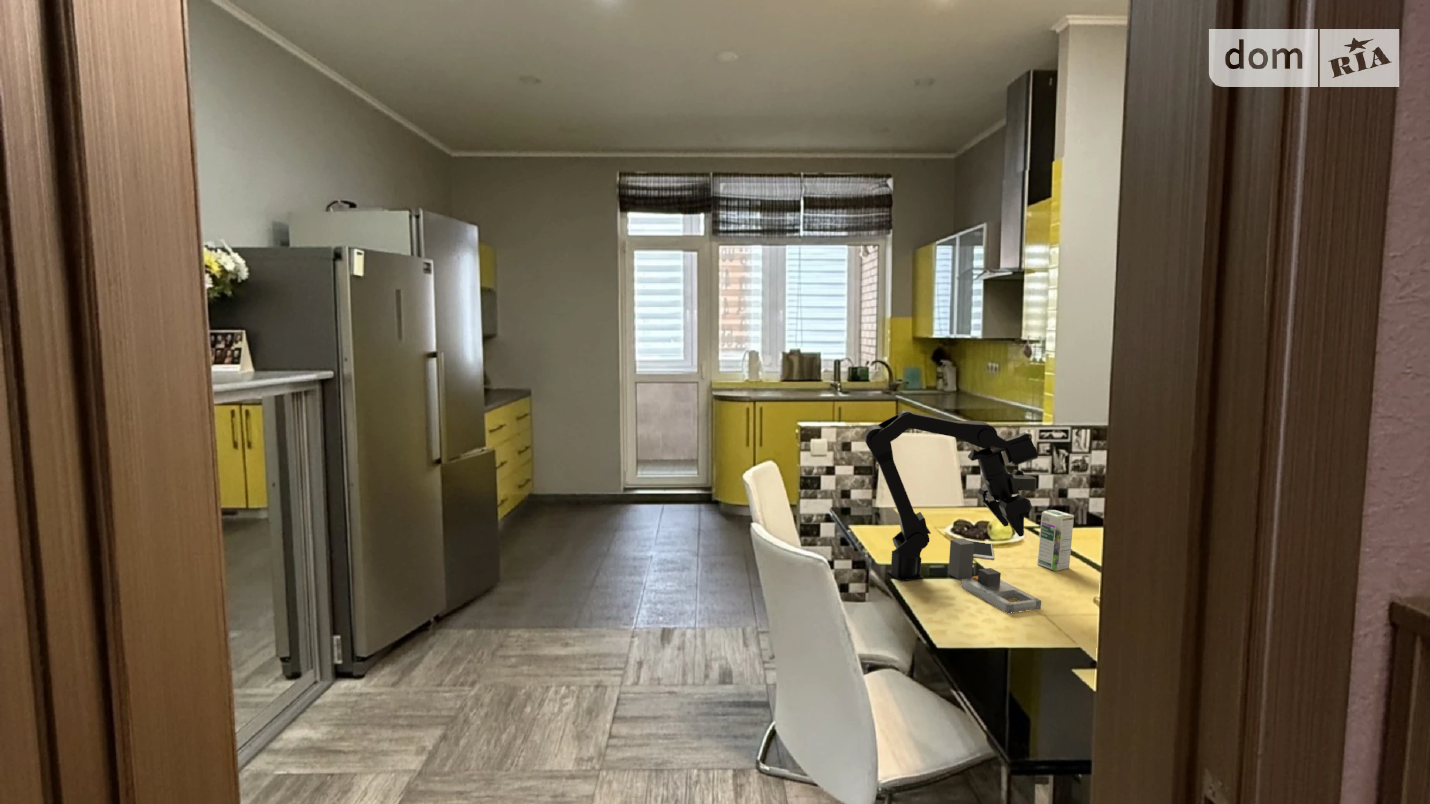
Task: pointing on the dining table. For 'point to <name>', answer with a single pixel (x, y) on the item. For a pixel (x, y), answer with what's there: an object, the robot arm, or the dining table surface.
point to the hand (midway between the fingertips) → (1013, 530)
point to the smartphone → (983, 550)
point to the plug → (961, 558)
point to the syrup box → (1055, 540)
